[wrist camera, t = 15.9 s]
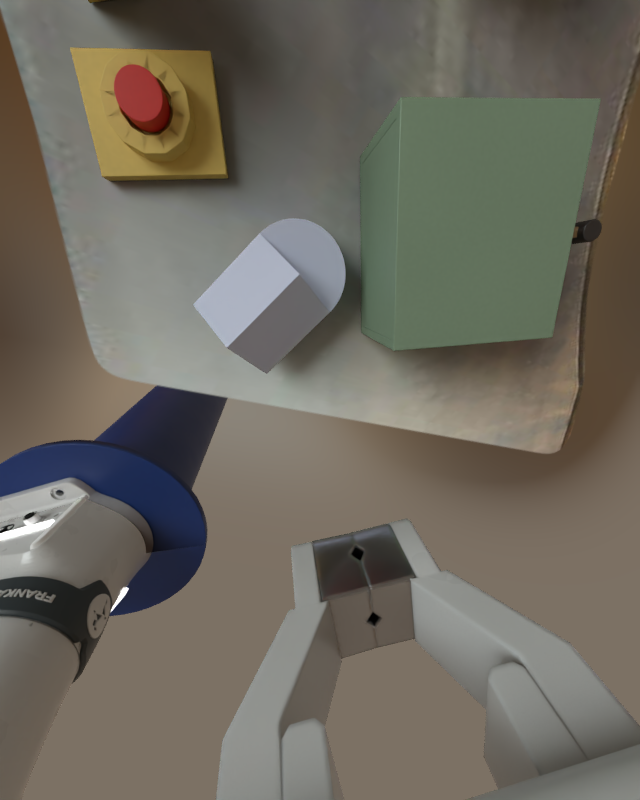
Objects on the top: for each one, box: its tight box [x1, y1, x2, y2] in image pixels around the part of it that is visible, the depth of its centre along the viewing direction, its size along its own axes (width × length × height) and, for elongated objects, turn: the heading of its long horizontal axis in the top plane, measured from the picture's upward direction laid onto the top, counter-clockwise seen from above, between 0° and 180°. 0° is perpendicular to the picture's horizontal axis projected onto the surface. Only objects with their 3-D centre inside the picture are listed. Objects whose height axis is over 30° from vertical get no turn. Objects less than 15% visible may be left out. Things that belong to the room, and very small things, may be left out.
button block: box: [70, 48, 228, 181], centre depth 25 cm, size 10×8×3 cm
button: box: [114, 64, 170, 132], centre depth 23 cm, size 3×3×2 cm
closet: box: [360, 97, 601, 351], centre depth 28 cm, size 14×16×10 cm
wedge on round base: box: [193, 218, 346, 374], centre depth 29 cm, size 9×7×13 cm
